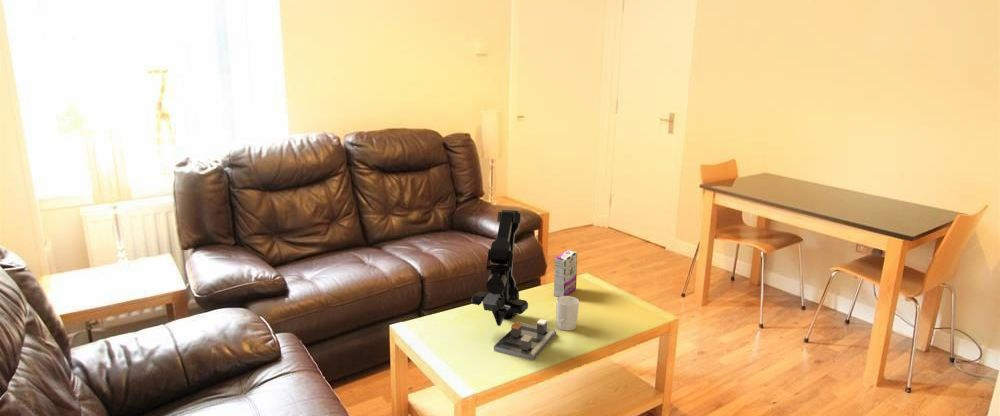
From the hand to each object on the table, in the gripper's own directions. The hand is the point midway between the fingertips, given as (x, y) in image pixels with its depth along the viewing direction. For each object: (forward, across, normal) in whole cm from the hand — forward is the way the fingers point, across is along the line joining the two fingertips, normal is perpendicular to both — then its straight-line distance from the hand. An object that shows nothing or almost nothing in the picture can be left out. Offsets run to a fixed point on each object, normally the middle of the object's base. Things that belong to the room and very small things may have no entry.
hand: (499, 325), depth 205 cm
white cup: (+4, +18, +17) cm, 25 cm away
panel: (+4, +10, 0) cm, 11 cm away
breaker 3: (+2, +13, +6) cm, 15 cm away
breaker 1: (+2, +6, 0) cm, 7 cm away
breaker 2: (+2, +13, -7) cm, 15 cm away
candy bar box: (+4, +7, +45) cm, 46 cm away
